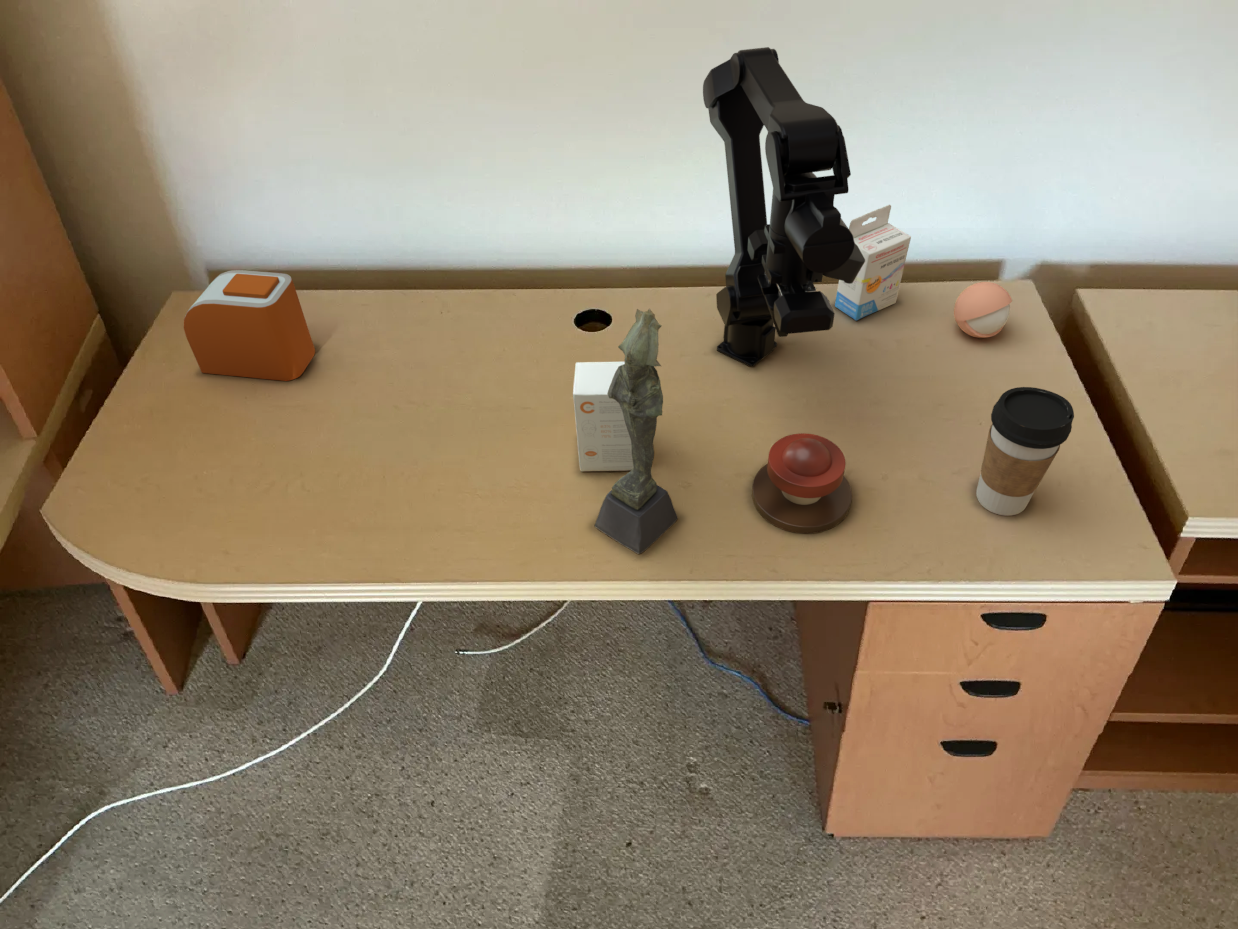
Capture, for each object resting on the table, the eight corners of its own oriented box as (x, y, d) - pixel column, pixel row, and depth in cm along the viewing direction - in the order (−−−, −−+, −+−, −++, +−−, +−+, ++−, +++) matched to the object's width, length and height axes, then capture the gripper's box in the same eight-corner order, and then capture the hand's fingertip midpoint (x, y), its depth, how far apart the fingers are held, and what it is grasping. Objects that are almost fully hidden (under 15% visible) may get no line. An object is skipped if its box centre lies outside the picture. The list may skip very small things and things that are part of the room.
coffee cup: (1027, 534, 110) (1066, 441, 99) (955, 506, 113) (987, 414, 103) (1045, 489, 115) (1085, 396, 104) (977, 464, 118) (1008, 372, 108)
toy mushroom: (732, 502, 115) (736, 450, 109) (786, 448, 121) (793, 397, 115) (816, 549, 109) (826, 498, 103) (869, 491, 115) (881, 439, 109)
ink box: (856, 322, 140) (872, 235, 129) (833, 306, 143) (847, 220, 132) (897, 303, 143) (916, 216, 132) (874, 287, 146) (891, 202, 135)
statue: (593, 527, 113) (578, 324, 91) (633, 491, 117) (627, 288, 95) (639, 556, 109) (635, 352, 88) (679, 518, 113) (684, 314, 92)
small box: (642, 437, 123) (641, 359, 114) (642, 471, 119) (641, 393, 110) (580, 438, 124) (574, 360, 114) (578, 472, 119) (572, 394, 110)
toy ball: (977, 355, 134) (991, 309, 128) (936, 328, 138) (948, 283, 133) (1015, 335, 137) (1031, 289, 131) (974, 309, 141) (987, 264, 136)
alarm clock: (320, 346, 139) (296, 268, 130) (297, 382, 133) (269, 303, 124) (228, 337, 141) (197, 260, 132) (201, 373, 136) (166, 295, 126)
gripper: (888, 263, 102) (866, 375, 113) (840, 180, 115) (824, 288, 126) (788, 272, 101) (775, 384, 112) (750, 188, 114) (742, 295, 125)
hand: (782, 335), depth 119 cm, fingers closed
